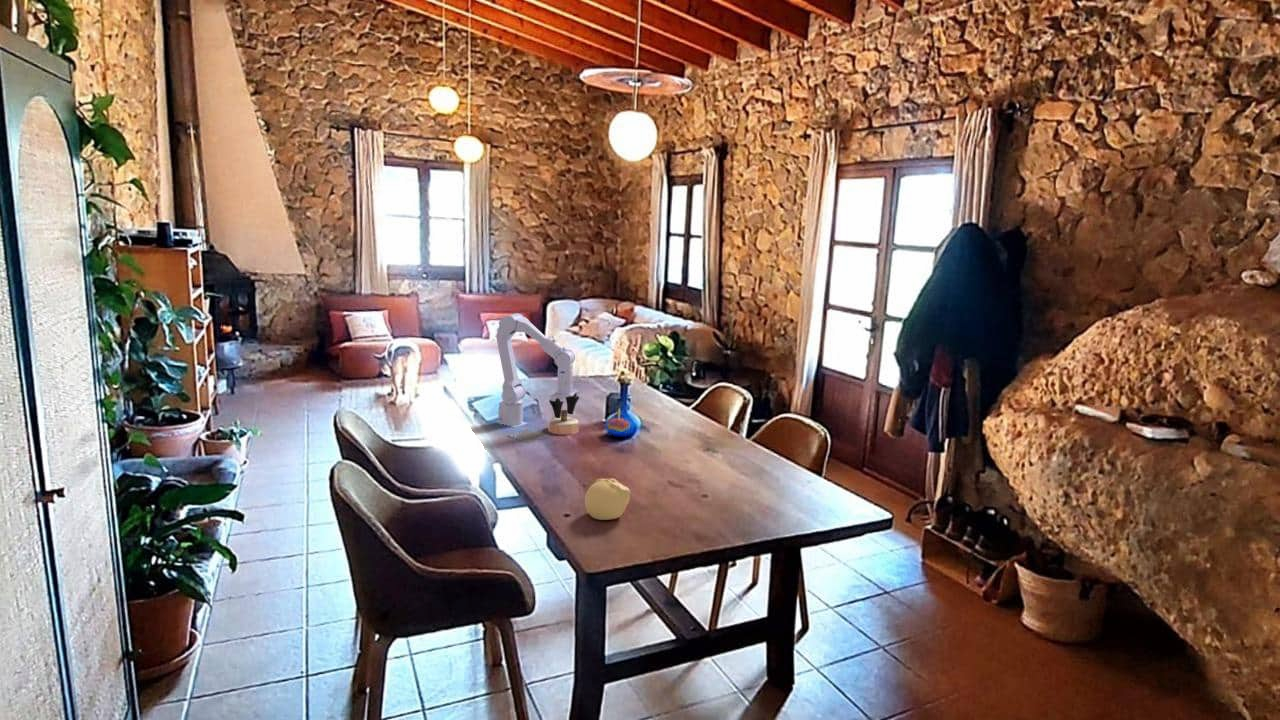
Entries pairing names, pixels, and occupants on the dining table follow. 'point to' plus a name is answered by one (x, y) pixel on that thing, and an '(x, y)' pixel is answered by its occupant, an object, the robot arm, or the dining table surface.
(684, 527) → the dining table surface
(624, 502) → the butter
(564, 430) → the octagonal bowl
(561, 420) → the lid
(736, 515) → the dining table surface
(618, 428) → the cupcake
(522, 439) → the mat
